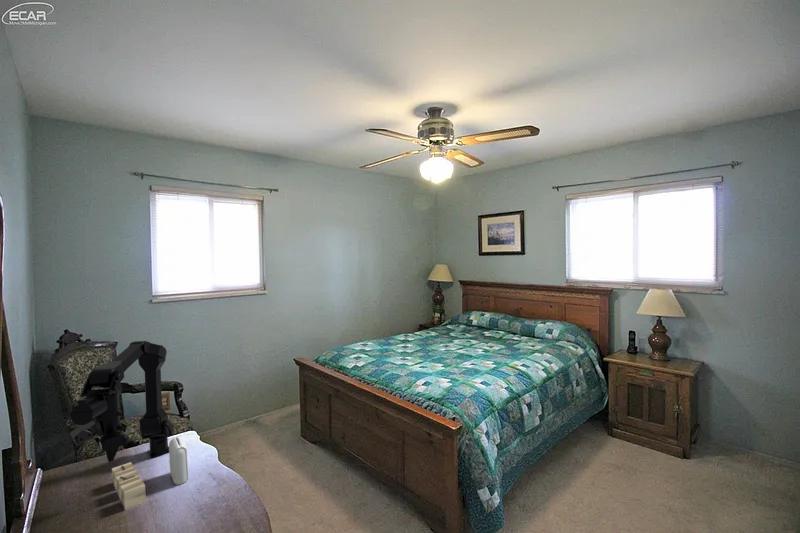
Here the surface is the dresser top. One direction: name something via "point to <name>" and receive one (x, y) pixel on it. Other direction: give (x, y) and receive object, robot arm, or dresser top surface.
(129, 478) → the block seven
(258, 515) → the dresser top surface
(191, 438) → the dresser top surface
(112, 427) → the robot arm
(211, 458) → the dresser top surface
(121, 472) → the block one
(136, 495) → the plain block
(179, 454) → the white rounded slab
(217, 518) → the dresser top surface
